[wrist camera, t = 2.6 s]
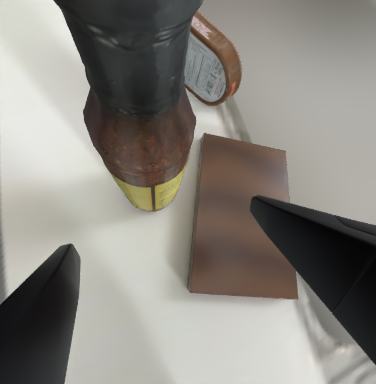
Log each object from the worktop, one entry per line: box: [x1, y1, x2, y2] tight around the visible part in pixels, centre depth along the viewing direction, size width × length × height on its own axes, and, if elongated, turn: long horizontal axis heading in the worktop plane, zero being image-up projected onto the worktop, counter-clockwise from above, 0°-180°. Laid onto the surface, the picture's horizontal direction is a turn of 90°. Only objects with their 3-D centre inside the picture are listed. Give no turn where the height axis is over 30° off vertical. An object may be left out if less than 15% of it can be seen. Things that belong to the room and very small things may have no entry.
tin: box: [184, 11, 242, 106], centre depth 24 cm, size 15×3×8 cm, turn 47°
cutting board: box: [188, 133, 298, 300], centre depth 23 cm, size 20×13×2 cm, turn 174°
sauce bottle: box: [54, 0, 203, 211], centre depth 13 cm, size 6×6×20 cm
